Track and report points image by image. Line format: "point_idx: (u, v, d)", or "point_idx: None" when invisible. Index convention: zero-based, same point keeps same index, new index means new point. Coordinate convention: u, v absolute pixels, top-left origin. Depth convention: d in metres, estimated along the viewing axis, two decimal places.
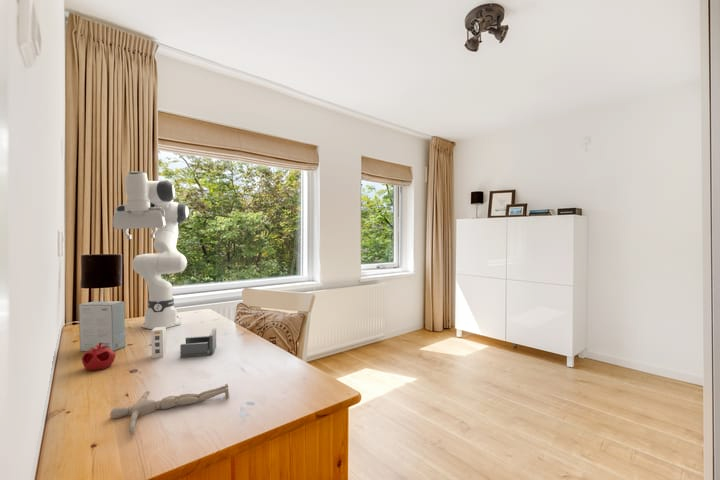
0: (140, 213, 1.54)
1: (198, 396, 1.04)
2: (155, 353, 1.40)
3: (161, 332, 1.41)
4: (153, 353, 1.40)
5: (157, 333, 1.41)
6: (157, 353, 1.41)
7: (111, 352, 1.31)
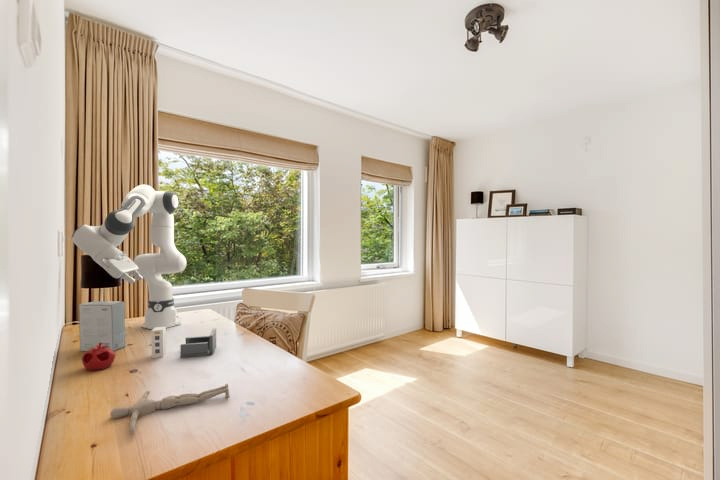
0: None
1: (198, 396, 1.04)
2: (155, 353, 1.40)
3: (161, 332, 1.41)
4: (153, 353, 1.40)
5: (157, 333, 1.41)
6: (157, 353, 1.41)
7: (111, 352, 1.31)
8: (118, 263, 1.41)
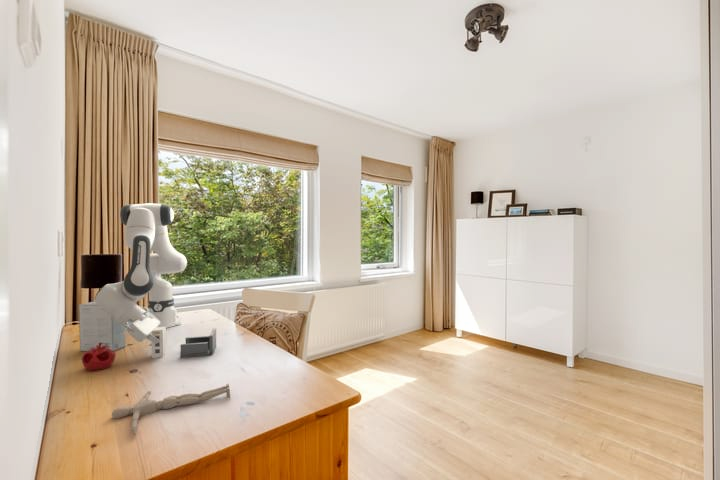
0: None
1: (199, 396, 1.05)
2: (155, 353, 1.40)
3: (161, 332, 1.41)
4: (153, 353, 1.40)
5: (157, 333, 1.41)
6: (157, 353, 1.41)
7: (111, 352, 1.31)
8: (141, 324, 1.38)
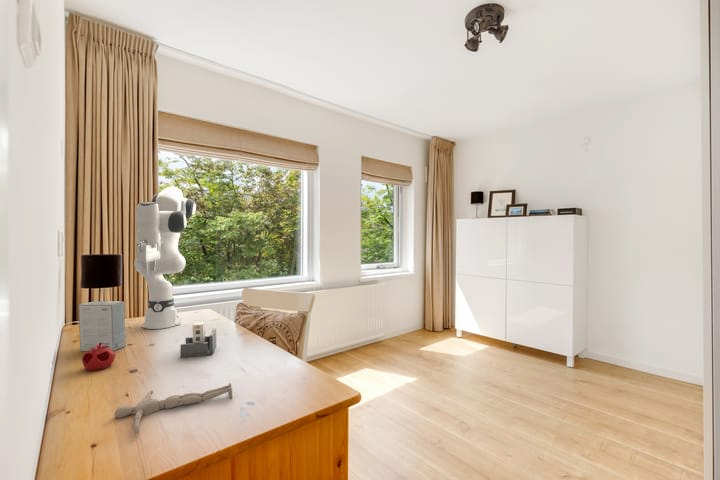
0: None
1: (202, 395, 1.05)
2: None
3: (201, 327, 1.45)
4: None
5: (198, 328, 1.45)
6: None
7: (111, 352, 1.31)
8: (149, 250, 1.47)
